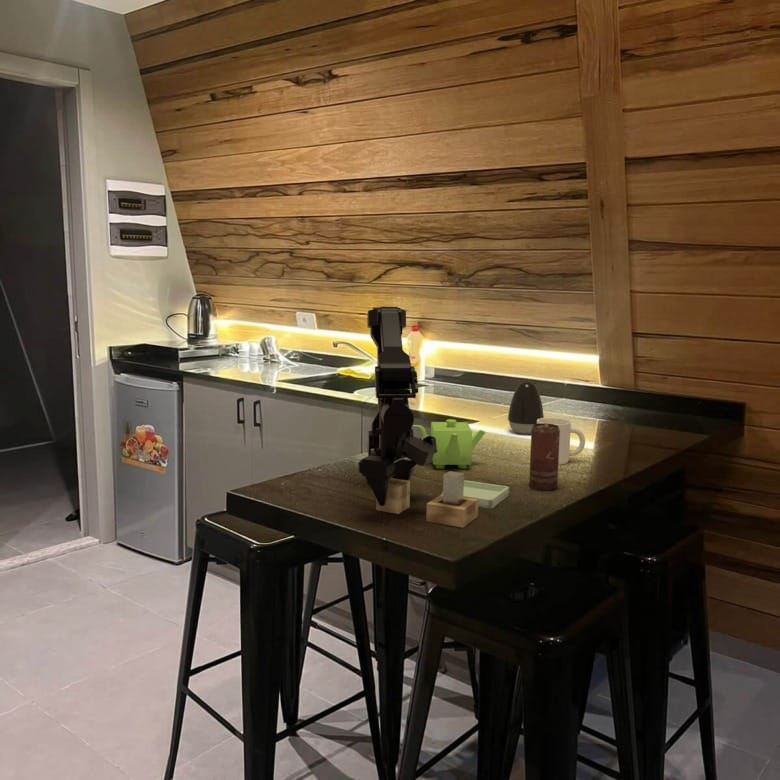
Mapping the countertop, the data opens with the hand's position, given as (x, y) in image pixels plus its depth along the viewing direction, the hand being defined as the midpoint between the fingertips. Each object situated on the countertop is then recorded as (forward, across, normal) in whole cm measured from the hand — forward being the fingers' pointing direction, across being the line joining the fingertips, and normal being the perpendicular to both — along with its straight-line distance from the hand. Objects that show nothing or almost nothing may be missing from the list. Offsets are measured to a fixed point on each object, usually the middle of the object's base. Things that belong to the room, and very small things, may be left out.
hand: (393, 499), depth 160 cm
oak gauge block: (+2, 0, -13) cm, 13 cm away
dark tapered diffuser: (+2, +82, -1) cm, 82 cm away
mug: (+2, +54, -19) cm, 57 cm away
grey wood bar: (+2, 0, -13) cm, 13 cm away
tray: (+2, +15, -12) cm, 19 cm away
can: (+2, +30, -22) cm, 37 cm away
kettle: (+2, +37, +4) cm, 37 cm away
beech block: (+2, 0, 0) cm, 2 cm away
